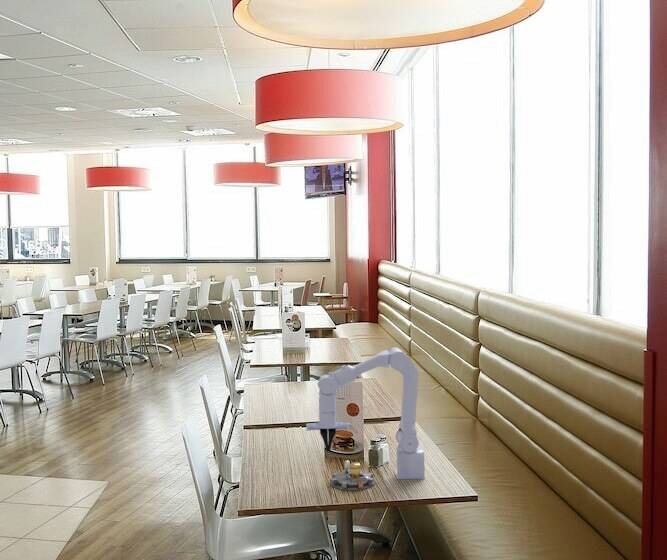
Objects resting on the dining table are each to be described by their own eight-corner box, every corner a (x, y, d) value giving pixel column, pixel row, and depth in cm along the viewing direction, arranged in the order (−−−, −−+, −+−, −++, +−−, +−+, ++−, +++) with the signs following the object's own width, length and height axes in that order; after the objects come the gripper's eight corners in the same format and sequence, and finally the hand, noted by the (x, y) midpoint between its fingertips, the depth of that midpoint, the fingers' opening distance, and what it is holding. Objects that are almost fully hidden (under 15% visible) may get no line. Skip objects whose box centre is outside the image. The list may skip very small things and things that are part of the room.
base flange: (373, 474, 251) (373, 472, 251) (376, 490, 236) (376, 488, 236) (330, 475, 251) (330, 473, 251) (330, 491, 236) (330, 489, 236)
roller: (361, 476, 241) (360, 462, 241) (360, 480, 238) (359, 466, 238) (351, 476, 242) (351, 462, 242) (350, 480, 239) (349, 465, 238)
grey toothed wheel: (372, 472, 250) (372, 457, 250) (375, 487, 236) (374, 471, 236) (331, 473, 250) (331, 458, 250) (331, 488, 236) (331, 472, 236)
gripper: (348, 407, 249) (349, 446, 250) (306, 408, 249) (307, 447, 250) (349, 413, 242) (349, 452, 243) (305, 413, 242) (306, 453, 243)
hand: (328, 450), depth 246 cm, fingers closed
